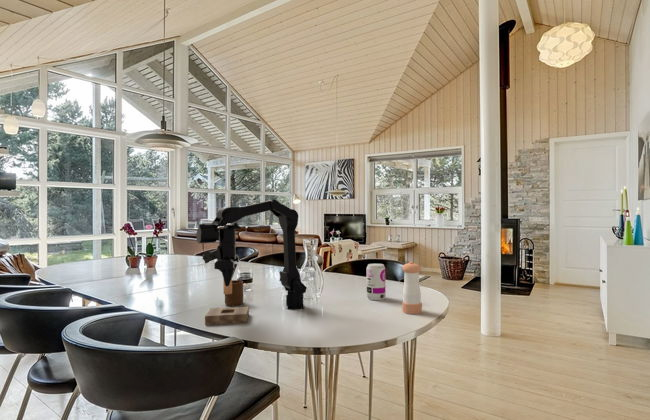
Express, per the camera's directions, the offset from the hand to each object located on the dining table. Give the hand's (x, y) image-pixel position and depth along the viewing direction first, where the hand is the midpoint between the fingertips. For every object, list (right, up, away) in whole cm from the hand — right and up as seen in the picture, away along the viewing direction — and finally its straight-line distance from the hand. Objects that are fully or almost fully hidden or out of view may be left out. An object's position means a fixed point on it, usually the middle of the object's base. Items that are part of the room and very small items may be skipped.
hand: (227, 285), depth 129 cm
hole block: (0, -12, 0) cm, 12 cm away
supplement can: (+58, -12, +29) cm, 66 cm away
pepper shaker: (+69, -12, +8) cm, 70 cm away
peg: (0, -3, 0) cm, 3 cm away
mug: (-4, -13, +20) cm, 24 cm away
